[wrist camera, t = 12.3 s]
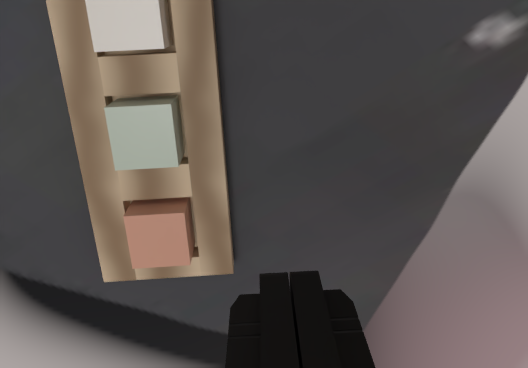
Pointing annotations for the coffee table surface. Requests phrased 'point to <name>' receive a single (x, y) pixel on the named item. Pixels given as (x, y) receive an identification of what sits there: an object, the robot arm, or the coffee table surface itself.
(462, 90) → the coffee table surface
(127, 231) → the terracotta button
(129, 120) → the sage button
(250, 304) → the robot arm
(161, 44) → the cream button
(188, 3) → the wooden slotted tray
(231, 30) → the coffee table surface
